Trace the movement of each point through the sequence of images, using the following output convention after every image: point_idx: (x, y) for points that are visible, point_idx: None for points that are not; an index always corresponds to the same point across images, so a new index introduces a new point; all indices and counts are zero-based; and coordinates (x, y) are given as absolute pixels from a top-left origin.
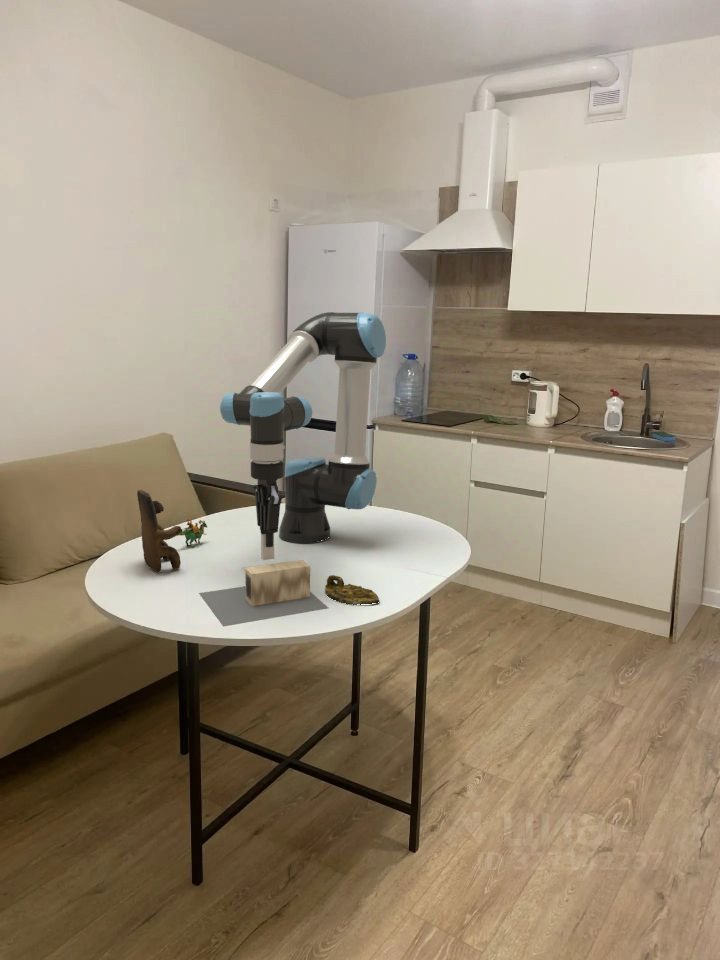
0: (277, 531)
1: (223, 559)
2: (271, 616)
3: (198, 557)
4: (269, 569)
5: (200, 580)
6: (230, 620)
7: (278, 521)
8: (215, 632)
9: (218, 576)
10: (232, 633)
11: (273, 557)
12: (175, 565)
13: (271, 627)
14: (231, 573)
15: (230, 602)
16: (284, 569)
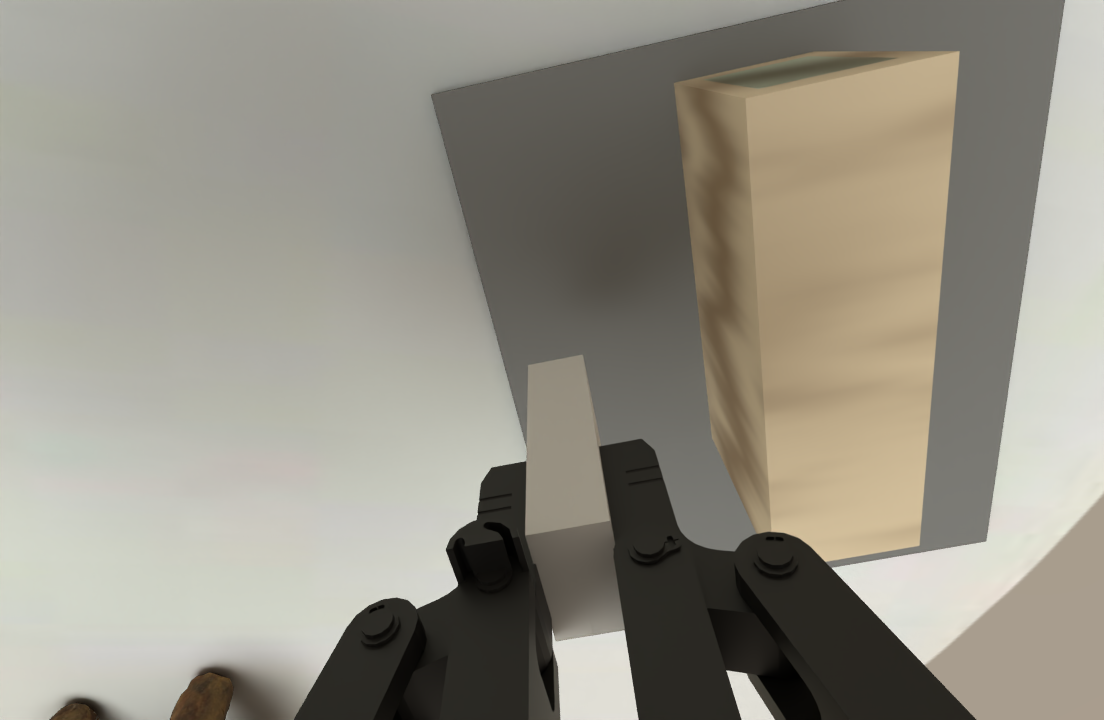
0: (803, 544)
1: (24, 493)
2: (997, 341)
3: (13, 600)
4: (878, 430)
5: (379, 596)
6: (942, 514)
7: (944, 691)
8: (1004, 560)
9: (324, 527)
10: (1052, 506)
11: (584, 366)
12: (227, 704)
13: (1095, 349)
14: (277, 468)
15: (731, 503)
16: (935, 321)
